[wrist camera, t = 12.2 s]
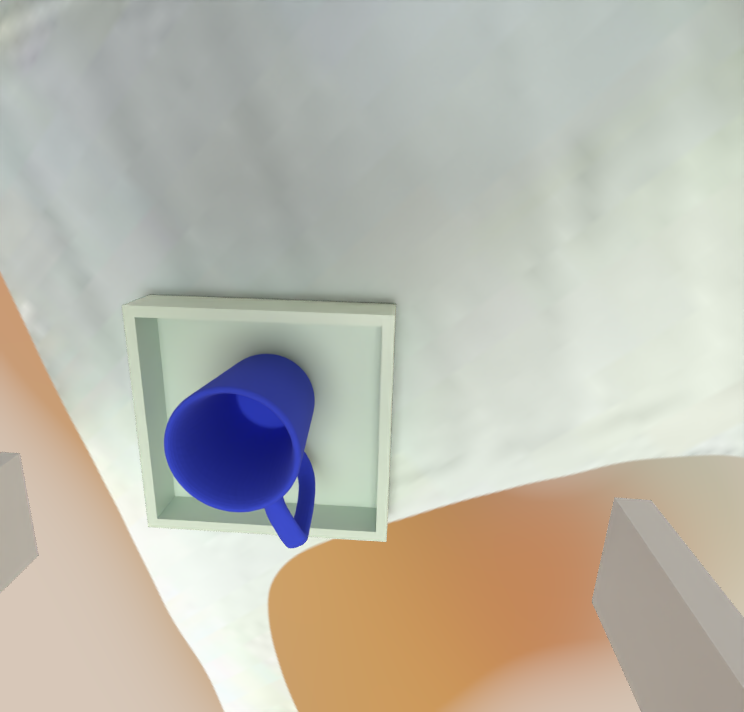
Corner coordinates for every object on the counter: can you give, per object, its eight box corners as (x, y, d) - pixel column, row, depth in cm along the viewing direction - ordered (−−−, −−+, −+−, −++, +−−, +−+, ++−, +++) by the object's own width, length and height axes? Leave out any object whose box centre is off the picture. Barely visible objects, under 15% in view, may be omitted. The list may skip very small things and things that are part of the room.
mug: (276, 494, 43) (239, 579, 33) (201, 367, 40) (135, 420, 30) (366, 457, 41) (354, 536, 31) (294, 322, 38) (256, 364, 29)
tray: (149, 294, 39) (121, 305, 35) (396, 303, 38) (394, 315, 34) (170, 498, 44) (148, 527, 40) (388, 511, 43) (386, 541, 39)
